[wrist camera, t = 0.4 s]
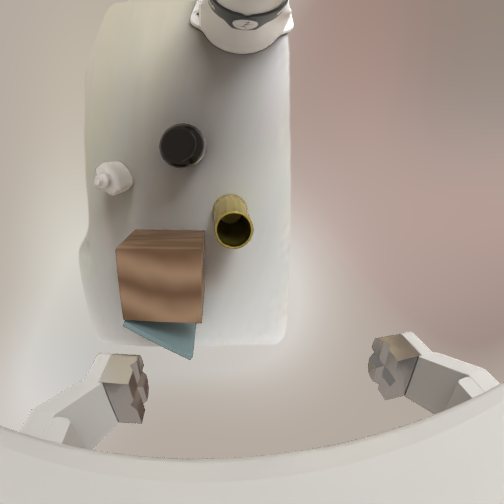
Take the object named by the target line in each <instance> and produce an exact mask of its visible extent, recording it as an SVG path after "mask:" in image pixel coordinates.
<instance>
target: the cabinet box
mask: <svg viewBox="0 0 504 504" xmlns="http://www.w3.org/2000/svg"><path fill="white" fill-rule="evenodd" d="M204 233H205V231H192V230H135V231H134V232H132V233H131V234H130V235H129V236H128V237H127V238H126V239H125V240H124V241H123V242H122V243H121V244H120V245H119V246H118V247H117V248H116V249H115V250H116V261H117V272H118V281H119V290H120V298H121V305H122V312H123V319H124V320H137V321H155V322H179V323H202V312H203V299H204Z"/></svg>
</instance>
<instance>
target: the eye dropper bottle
mask: <svg viewBox="0 0 504 504" xmlns="http://www.w3.org/2000/svg"><path fill="white" fill-rule="evenodd" d="M94 185H95V187H96V188H98V189H103V190H104V191H105V192H106V193H108V194H109V195H111V196H114V195H117V194H119V193H122V192H124V191H126V190H128V189H129V188H130V187H132V185H133V180H132V176H131V174H130V172H129V170H128V169H127V168H126V167H125V166H124V165H123V164H122V163H121V162H119V161H113V162H105V163H102V164H101V165H100V166H99V167H97V169H96V176H95V178H94Z"/></svg>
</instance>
